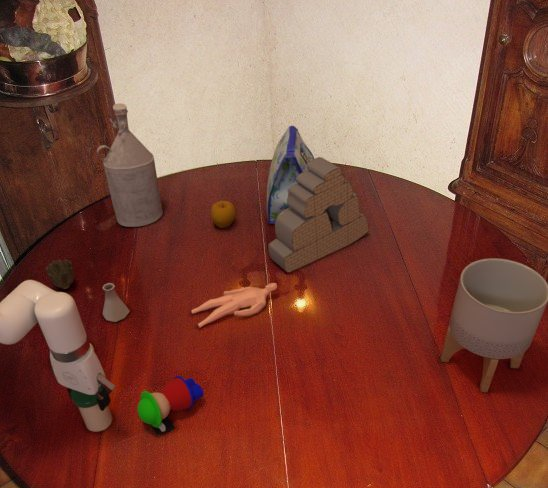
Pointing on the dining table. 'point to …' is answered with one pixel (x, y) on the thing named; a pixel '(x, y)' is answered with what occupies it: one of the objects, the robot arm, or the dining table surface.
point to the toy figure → (168, 403)
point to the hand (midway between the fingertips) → (91, 400)
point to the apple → (223, 213)
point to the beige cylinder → (96, 418)
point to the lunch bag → (285, 171)
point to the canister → (131, 176)
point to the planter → (495, 313)
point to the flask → (113, 305)
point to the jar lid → (84, 399)
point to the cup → (61, 274)
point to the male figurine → (236, 303)
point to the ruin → (317, 217)
